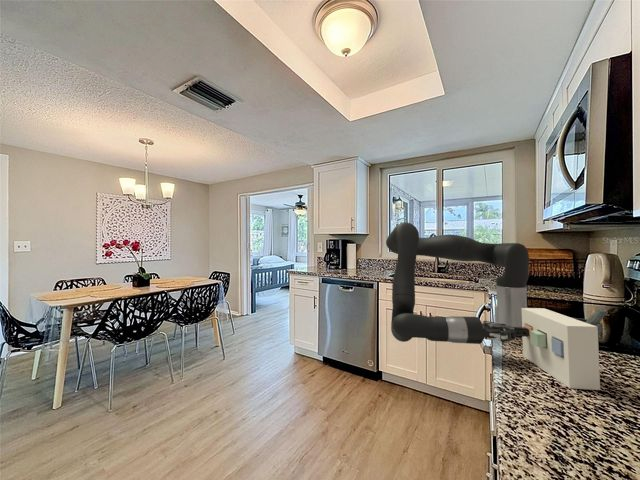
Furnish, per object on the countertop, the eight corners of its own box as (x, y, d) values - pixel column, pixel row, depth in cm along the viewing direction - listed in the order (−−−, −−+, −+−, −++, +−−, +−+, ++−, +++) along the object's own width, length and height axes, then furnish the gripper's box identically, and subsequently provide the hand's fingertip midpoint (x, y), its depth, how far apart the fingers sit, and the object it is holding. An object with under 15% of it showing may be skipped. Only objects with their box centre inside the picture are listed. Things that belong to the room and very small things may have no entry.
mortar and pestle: (562, 342, 92) (560, 306, 93) (562, 335, 99) (561, 302, 100) (610, 350, 85) (609, 311, 85) (607, 342, 92) (606, 306, 92)
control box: (569, 388, 63) (567, 325, 64) (523, 355, 82) (521, 307, 82) (600, 390, 62) (597, 326, 63) (545, 356, 81) (544, 308, 81)
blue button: (560, 356, 65) (560, 342, 65) (551, 351, 68) (551, 338, 69) (570, 356, 65) (569, 342, 65) (560, 351, 68) (560, 338, 68)
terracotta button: (530, 339, 77) (530, 327, 77) (524, 335, 80) (524, 324, 80) (539, 339, 77) (538, 328, 77) (532, 336, 80) (531, 324, 80)
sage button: (537, 347, 71) (537, 334, 72) (530, 342, 75) (530, 330, 75) (546, 347, 71) (545, 334, 71) (538, 343, 74) (538, 330, 74)
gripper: (469, 322, 75) (541, 325, 72) (454, 311, 88) (514, 313, 85) (470, 350, 75) (542, 354, 72) (455, 335, 88) (515, 337, 85)
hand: (527, 331), depth 79 cm, fingers closed
